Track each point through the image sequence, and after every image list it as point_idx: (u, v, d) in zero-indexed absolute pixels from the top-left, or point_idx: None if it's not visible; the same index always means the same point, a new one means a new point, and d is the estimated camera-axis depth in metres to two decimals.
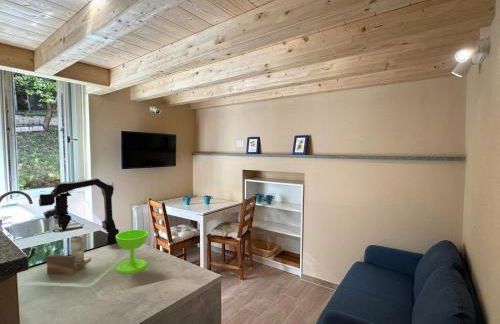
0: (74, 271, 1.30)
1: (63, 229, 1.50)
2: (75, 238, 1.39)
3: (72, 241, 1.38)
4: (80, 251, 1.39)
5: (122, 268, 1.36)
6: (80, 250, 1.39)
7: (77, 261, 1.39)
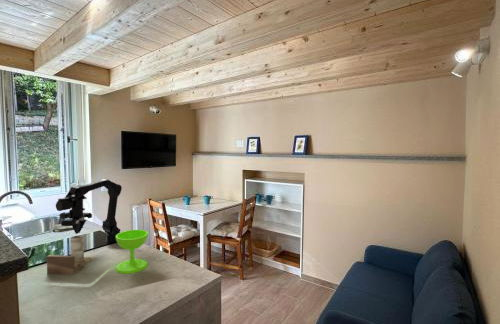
0: (74, 271, 1.30)
1: (75, 231, 1.52)
2: (75, 238, 1.39)
3: (72, 241, 1.38)
4: (80, 251, 1.39)
5: (122, 268, 1.36)
6: (80, 250, 1.39)
7: (77, 261, 1.39)
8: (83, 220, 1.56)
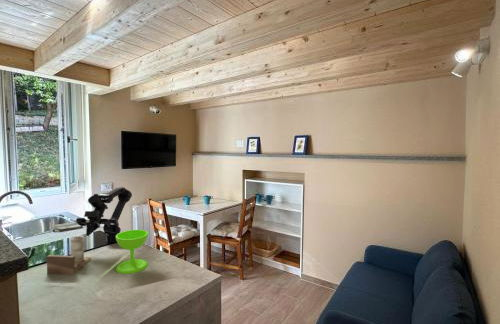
0: (74, 271, 1.30)
1: (89, 233, 1.50)
2: (75, 238, 1.39)
3: (72, 241, 1.38)
4: (80, 251, 1.39)
5: (122, 268, 1.36)
6: (80, 250, 1.39)
7: (77, 261, 1.39)
8: None
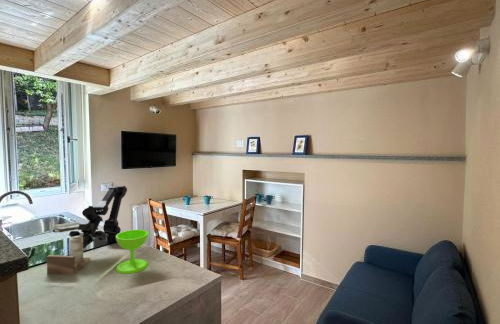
0: (74, 271, 1.30)
1: (83, 247, 1.44)
2: (74, 238, 1.38)
3: (71, 241, 1.37)
4: (79, 251, 1.39)
5: (122, 268, 1.36)
6: (80, 250, 1.39)
7: (76, 261, 1.38)
8: None
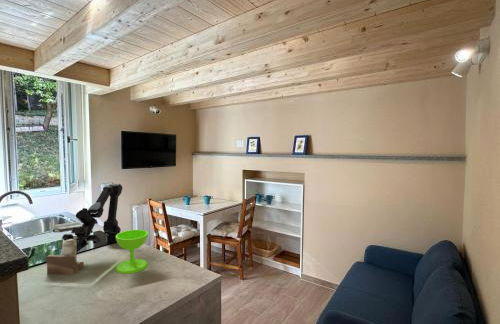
0: (74, 271, 1.30)
1: None
2: (67, 242, 1.33)
3: (64, 245, 1.32)
4: (72, 255, 1.34)
5: (122, 268, 1.36)
6: (73, 254, 1.34)
7: None
8: None
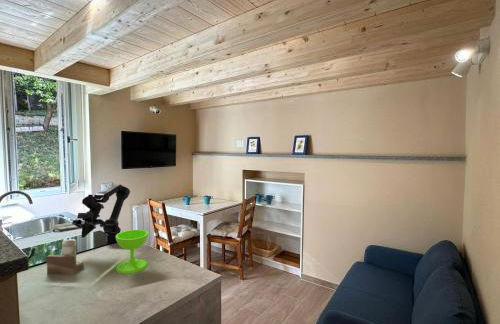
0: (74, 271, 1.30)
1: (84, 234, 1.47)
2: (67, 242, 1.33)
3: (64, 245, 1.32)
4: None
5: (122, 268, 1.36)
6: (72, 254, 1.34)
7: None
8: None
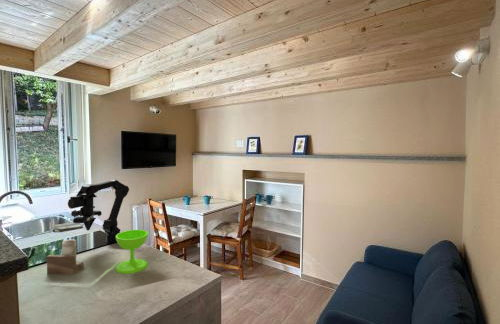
0: (74, 271, 1.30)
1: (87, 228, 1.58)
2: (67, 242, 1.33)
3: (64, 245, 1.32)
4: None
5: (122, 268, 1.36)
6: (72, 254, 1.34)
7: None
8: (93, 218, 1.61)
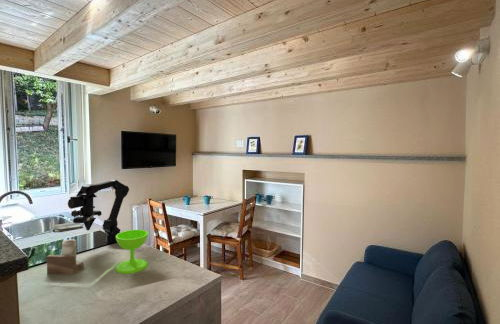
0: (74, 271, 1.30)
1: (87, 228, 1.58)
2: (67, 242, 1.33)
3: (64, 245, 1.32)
4: None
5: (122, 268, 1.36)
6: (72, 254, 1.34)
7: None
8: (93, 218, 1.61)
